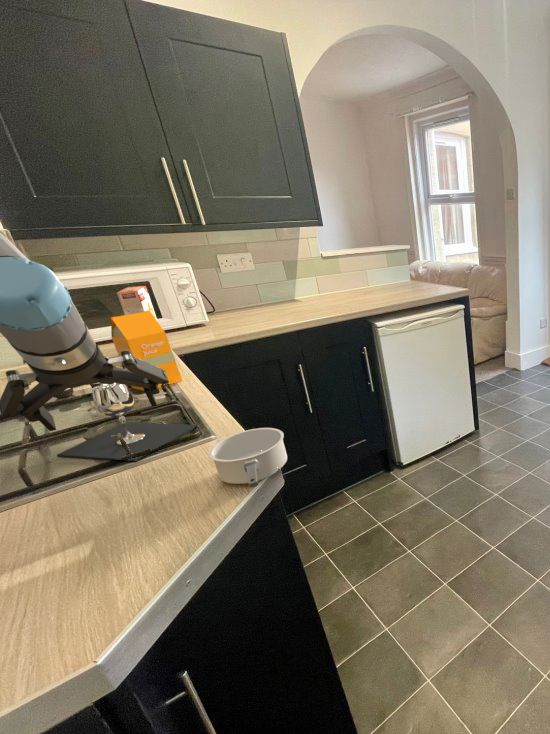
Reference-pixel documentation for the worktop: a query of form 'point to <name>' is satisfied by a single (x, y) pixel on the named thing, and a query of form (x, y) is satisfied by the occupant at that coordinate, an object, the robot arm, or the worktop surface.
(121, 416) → the wineglass
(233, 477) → the saucepan
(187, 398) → the worktop surface
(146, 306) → the cracker box
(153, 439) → the mat
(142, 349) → the orange juice
